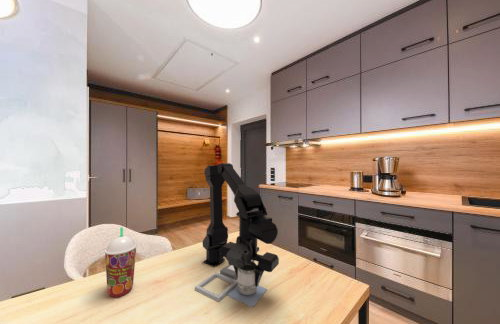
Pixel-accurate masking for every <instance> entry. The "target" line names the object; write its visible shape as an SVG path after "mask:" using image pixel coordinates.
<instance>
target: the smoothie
mask: <svg viewBox="0 0 500 324" xmlns="http://www.w3.org/2000/svg"><path fill="white" fill-rule="evenodd" d="M119 233H120V234H119V235H118V236H117V237H114V238H113V239H112V240H111V241H110V242H109V243H108V245H107V247H106V249H105V250H104V253H105V254H104V257H105V258H104V259H105V273H106V289H107V290H106V292H107V293H108V295H109V296H110V297H112V298H119V297H122V296H124V295H126V294H128V293H129V292H130V291H131V290H132V287H133V285H134V279H135V266H136V265H135V264H136V255H137V253H136V252H137V246H138V245H137V243H136V242H135V240H134V239H133V238H132V237H131V236H128V235H124V227H122V226H121V227H120V232H119Z"/></svg>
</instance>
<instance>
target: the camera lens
mask: <svg viewBox="0 0 500 324" xmlns="http://www.w3.org/2000/svg"><path fill="white" fill-rule="evenodd" d="M257 265H258V264H257V263H256V262H255V261H254V262H252V261H250V263H249V264H248V265H247V264H244V265H243V267H241V268H238V279H237V281H238V289H239V292H240V293H242V294H244V295H251V294H254V293H255V292H256V289H257V287H256V286H255V273H256V271H255V270H254V267H256V266H257Z"/></svg>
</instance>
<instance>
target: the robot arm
mask: <svg viewBox="0 0 500 324" xmlns="http://www.w3.org/2000/svg"><path fill="white" fill-rule="evenodd" d="M203 173H204V177H205V182H206V183H207V185H208V186H209V200H210V202H209V204H210V206H209V208H210V209H209V210H210V211H209V213H210V223H209V225H208V227H207V229H206V234H205V237H204V238H203V240H202V248H204V249H205V251H206V259H205V260H203V263H205V264H207V265H209V266H211V267H217V266H219V265H220V264H222V263H223V262H225V261H226V260H227V263H228V265H232V266H233V267H234V269H235V273H236V276H237V280H238V268H241V267H243V265H244V264H247V265H248V264H249V263H250V261H251V260H254V262H257V263H256V265H257V266H256V267H254V270H255V271H256V273H255V286H256V287H257V286H258V285H259V283H260V282H261V279H262V277H263V274H264V272H267V273H272V272H273V271H274V270H275V269H276V267H277V266H279V264H280V263H279V262H280V258H279V256H278V255H277V254H274V253H271V252H268V251H266V252H265V253H264V254H259V253H258V252H260V247H259V246H258V240H259V241H261V242H263V243H264V244H267V245H270V244H272V243H273V242H275V240H276V239H277V237H278V231H279V230H278V227H277V225H276V223H274V222H273V217H270V216H268V212H267V208H266V206H265V205H264V203H263V199H262V197H261V195H260V194H259V193H258V192H257V191H256V190H255V188H252V187H250V186H248V185H247V184H246V183H245V182H244V181H243V179H242V178H241V176H240V175H239V173H238V172H237V171H236V170H235V169H234V165H233V164H232V163H230V162H226V163H225V162H220V163H218V164H211V165H207V166H206V167H205V169H204V172H203ZM225 182H226V183H227V186H228V187H229V188H230V191H231V192H232V194H233V195H234V198H233V202H234V204H235V206H236V208H237V210H238V211H237V212H236V214H235V215H236V217H239V220H238V221H239V222H238V223H239V224H238V228H239V229H238V230H239V231H238V232H239V233H238V236H237V237H236V240H235V242H232V241H229V242H228V240H229V239H228V238H229V234H228V233H229V230H228V227H227V226H226V225H225V223H224V221H223V220H224V219H223V186H224V183H225Z"/></svg>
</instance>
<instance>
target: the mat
mask: <svg viewBox="0 0 500 324" xmlns="http://www.w3.org/2000/svg"><path fill="white" fill-rule="evenodd" d="M267 291H268V288H267V287H263V286H261V285H259V284H258V286H257V289H256V292H255V293H254V294H251V295H244V294H242V293H240V292H239V289H238V285H237V286H236V287H235V288H234V289H233V290H231V291H230V292H229V293H228V294H227V297H229V298H232V299H233V300H236V301H238V302H240V303H242V304H244V305H246V306H249V307H251V308H254V307H255V305H256V304H257V303H258V302H259V301H260V299H261V298H262V297H263V296H264V295H265V293H266V292H267Z"/></svg>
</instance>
